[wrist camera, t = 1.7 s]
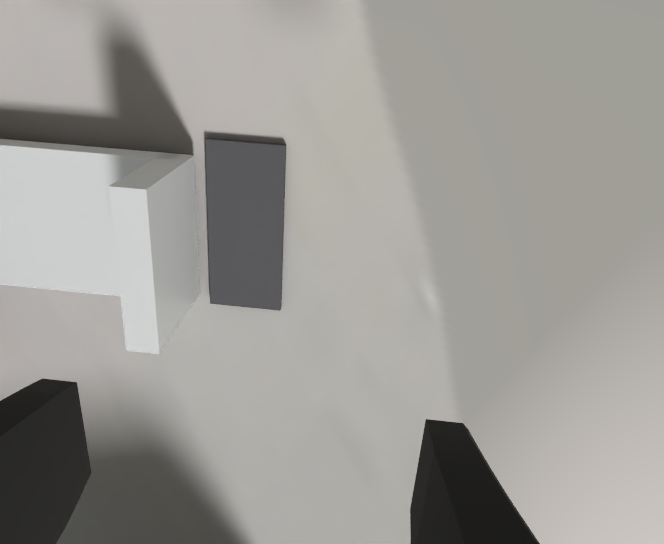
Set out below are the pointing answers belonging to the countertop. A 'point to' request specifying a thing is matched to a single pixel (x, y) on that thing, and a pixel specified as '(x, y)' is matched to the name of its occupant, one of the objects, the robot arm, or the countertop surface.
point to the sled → (103, 230)
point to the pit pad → (245, 222)
